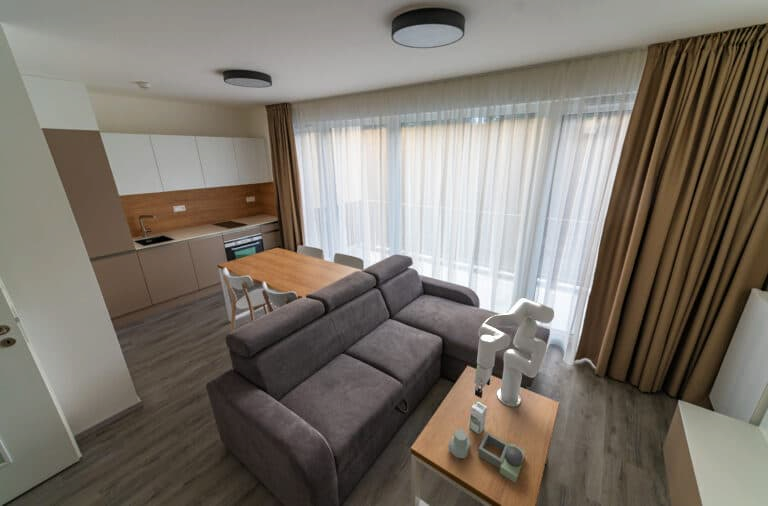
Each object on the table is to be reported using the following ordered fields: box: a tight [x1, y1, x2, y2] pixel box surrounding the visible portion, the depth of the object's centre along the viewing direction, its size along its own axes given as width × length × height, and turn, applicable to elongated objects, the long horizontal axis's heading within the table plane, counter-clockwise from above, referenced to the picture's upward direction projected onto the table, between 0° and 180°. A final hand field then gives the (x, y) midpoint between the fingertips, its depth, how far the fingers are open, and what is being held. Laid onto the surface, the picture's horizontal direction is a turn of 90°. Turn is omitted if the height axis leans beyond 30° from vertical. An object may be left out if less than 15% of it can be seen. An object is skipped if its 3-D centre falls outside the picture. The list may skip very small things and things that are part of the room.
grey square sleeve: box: [477, 431, 526, 484], centre depth 132 cm, size 14×17×7 cm
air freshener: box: [448, 429, 472, 459], centre depth 135 cm, size 11×8×10 cm
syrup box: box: [468, 400, 488, 435], centre depth 145 cm, size 6×6×14 cm
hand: (482, 389), depth 137 cm, fingers open, 9 cm apart
